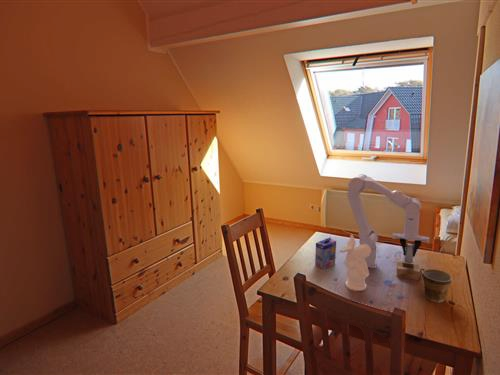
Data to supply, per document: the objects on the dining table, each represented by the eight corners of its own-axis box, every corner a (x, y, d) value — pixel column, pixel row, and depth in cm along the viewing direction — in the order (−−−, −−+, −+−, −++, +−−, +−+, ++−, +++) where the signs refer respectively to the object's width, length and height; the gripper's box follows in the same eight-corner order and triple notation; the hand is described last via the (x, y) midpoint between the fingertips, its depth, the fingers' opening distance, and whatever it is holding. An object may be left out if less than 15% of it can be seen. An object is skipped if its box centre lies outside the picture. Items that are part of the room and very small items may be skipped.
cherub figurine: (372, 291, 132) (375, 242, 127) (344, 295, 130) (347, 246, 125) (356, 277, 144) (359, 231, 138) (331, 280, 141) (333, 234, 136)
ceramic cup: (455, 302, 123) (458, 278, 121) (434, 307, 120) (437, 283, 118) (428, 285, 135) (430, 264, 133) (409, 289, 132) (411, 268, 130)
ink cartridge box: (323, 269, 151) (324, 241, 148) (314, 265, 156) (314, 238, 152) (336, 263, 157) (337, 236, 154) (327, 259, 162) (327, 233, 158)
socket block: (396, 276, 143) (397, 268, 142) (396, 267, 151) (397, 259, 150) (419, 280, 140) (419, 271, 139) (417, 270, 148) (418, 262, 147)
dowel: (404, 262, 143) (405, 245, 141) (404, 259, 146) (406, 243, 144) (412, 263, 142) (413, 246, 140) (412, 260, 144) (414, 244, 143)
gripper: (393, 227, 140) (391, 256, 143) (431, 231, 134) (428, 261, 137) (393, 222, 146) (391, 250, 149) (429, 226, 140) (426, 254, 143)
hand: (409, 255), depth 143 cm, fingers closed on dowel, 3 cm apart
